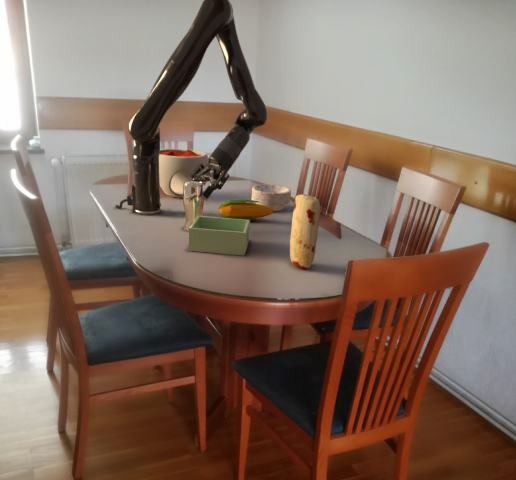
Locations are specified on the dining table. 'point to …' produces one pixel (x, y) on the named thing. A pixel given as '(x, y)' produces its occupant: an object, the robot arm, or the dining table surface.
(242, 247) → the tub
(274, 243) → the dining table surface
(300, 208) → the food model
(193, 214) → the beer glass
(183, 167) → the pot
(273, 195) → the paper bowls
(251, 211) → the corn
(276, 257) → the dining table surface
